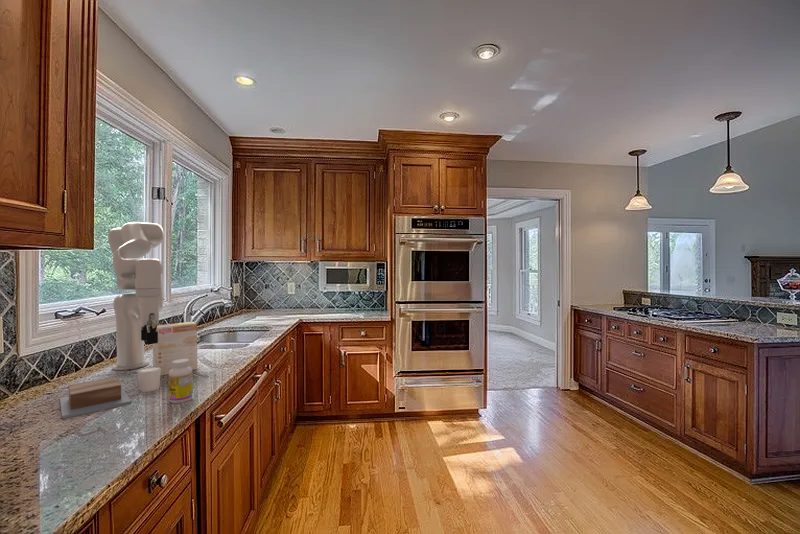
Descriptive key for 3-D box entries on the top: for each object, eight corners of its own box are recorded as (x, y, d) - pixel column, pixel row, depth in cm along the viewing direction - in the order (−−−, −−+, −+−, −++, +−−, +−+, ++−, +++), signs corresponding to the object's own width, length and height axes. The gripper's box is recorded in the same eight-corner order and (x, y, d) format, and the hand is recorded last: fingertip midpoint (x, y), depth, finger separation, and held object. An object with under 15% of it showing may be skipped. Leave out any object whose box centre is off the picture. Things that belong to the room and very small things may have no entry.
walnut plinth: (68, 399, 116) (68, 385, 116) (116, 390, 124) (115, 376, 124) (70, 410, 107) (70, 394, 107) (121, 399, 116) (121, 385, 116)
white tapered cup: (166, 385, 131) (165, 366, 131) (151, 392, 124) (150, 372, 124) (148, 385, 131) (148, 366, 131) (132, 392, 124) (132, 371, 124)
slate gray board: (60, 400, 117) (59, 397, 117) (121, 388, 128) (121, 386, 128) (61, 418, 103) (61, 416, 103) (131, 403, 114) (131, 401, 114)
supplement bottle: (166, 400, 117) (165, 360, 117) (188, 394, 122) (188, 356, 121) (172, 405, 112) (171, 364, 112) (195, 399, 117) (195, 360, 117)
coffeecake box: (193, 365, 156) (193, 321, 156) (198, 369, 151) (197, 323, 151) (152, 373, 146) (151, 325, 146) (155, 377, 141) (154, 327, 141)
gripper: (131, 293, 131) (132, 340, 131) (140, 295, 118) (141, 347, 118) (156, 291, 136) (156, 337, 136) (166, 293, 124) (167, 343, 124)
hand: (149, 341), depth 127 cm, fingers open, 9 cm apart
